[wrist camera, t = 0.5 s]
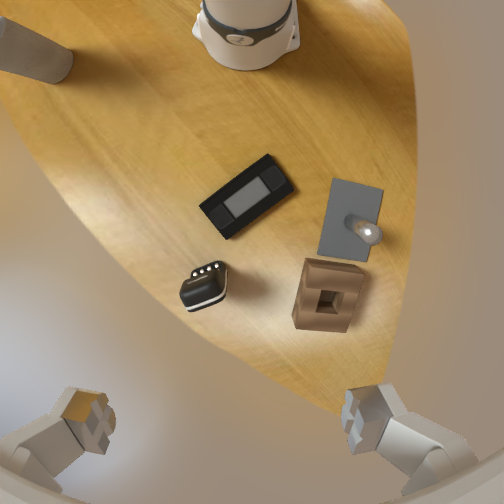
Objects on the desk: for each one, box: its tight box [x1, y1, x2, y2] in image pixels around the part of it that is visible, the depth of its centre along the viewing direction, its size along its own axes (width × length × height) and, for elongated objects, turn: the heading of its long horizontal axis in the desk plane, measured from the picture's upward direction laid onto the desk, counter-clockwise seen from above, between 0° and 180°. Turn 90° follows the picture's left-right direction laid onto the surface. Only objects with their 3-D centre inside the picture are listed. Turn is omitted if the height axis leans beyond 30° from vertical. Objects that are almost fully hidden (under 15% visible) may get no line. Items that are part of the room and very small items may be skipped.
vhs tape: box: [199, 153, 294, 240], centre depth 49 cm, size 8×14×2 cm, turn 127°
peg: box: [344, 214, 383, 245], centre depth 47 cm, size 3×3×10 cm
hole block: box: [292, 258, 365, 333], centre depth 53 cm, size 12×10×5 cm
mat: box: [317, 178, 383, 262], centre depth 52 cm, size 14×10×1 cm
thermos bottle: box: [0, 16, 73, 84], centre depth 27 cm, size 8×8×28 cm
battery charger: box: [179, 261, 228, 312], centre depth 48 cm, size 7×4×11 cm, turn 112°
